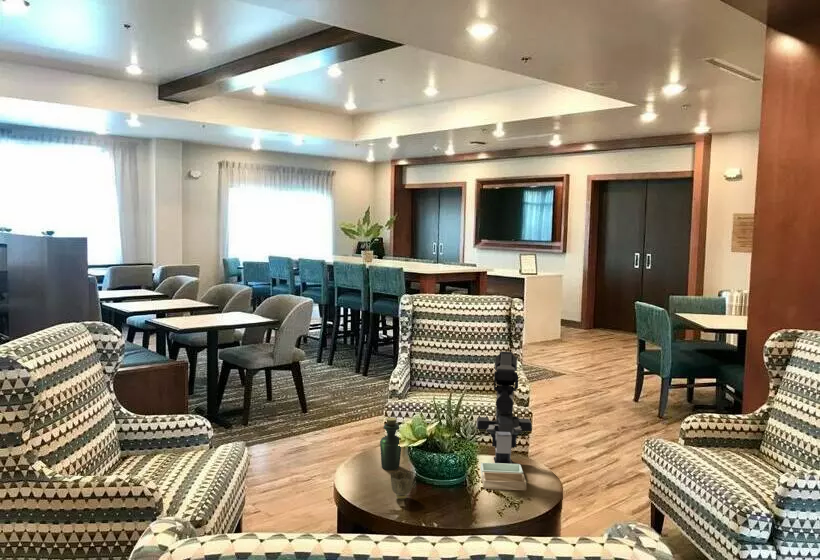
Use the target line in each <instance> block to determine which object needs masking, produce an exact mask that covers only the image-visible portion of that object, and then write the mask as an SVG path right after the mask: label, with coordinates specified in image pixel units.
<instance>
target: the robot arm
mask: <svg viewBox="0 0 820 560" xmlns="http://www.w3.org/2000/svg"><path fill="white" fill-rule="evenodd" d="M517 368H518V357H516V356H515V355H514V353H513V352H512V351H503V350H502V351H499V354H498V355H496V356H495V357H494V374H493V375H494V376H493V379H494V381H493V391H496V399H495V420H489V417H488V416H483V417H482V416H479V417H477V418H476V429H477V430H483V431H484V430H486V433H487V432H489V433H490V435H491V439H492V440H491V441H492V442H491V444H492V447H494V449H495V448H496V432H510V433H511V436H512V440H511V450H512V449H515V448H517V437H518V435H519V434H522V433H523V432H532V431H533V425H532V424H533V423H532V422H531V419H529V418H521V417H519V416H514V413H513V410H514V409H513V408H514V392H517V389H519V375H518V372H517V370H518V369H517ZM511 455H512V453H511V454H508V453H496V452H495V456H493V463H505V464H513V462H512V457H511Z"/></svg>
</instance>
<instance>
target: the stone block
mask: <svg viewBox="0 0 820 560" xmlns="http://www.w3.org/2000/svg"><path fill="white" fill-rule="evenodd" d="M511 440H512V436H511V433H510V432H496V448H495V447H494V449H495V454H496V453H508V454H511V455H512V449H511Z"/></svg>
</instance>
